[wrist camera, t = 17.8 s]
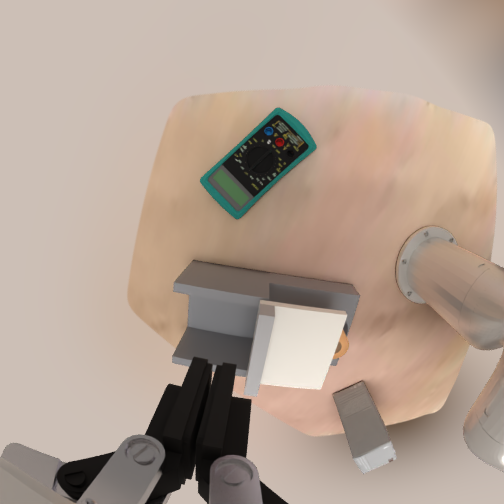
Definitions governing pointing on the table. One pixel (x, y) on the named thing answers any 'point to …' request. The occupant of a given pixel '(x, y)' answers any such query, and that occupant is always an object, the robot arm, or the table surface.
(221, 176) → the digital multimeter
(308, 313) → the lid
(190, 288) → the housing
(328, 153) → the table surface
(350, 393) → the skincare box
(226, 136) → the table surface
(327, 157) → the table surface
